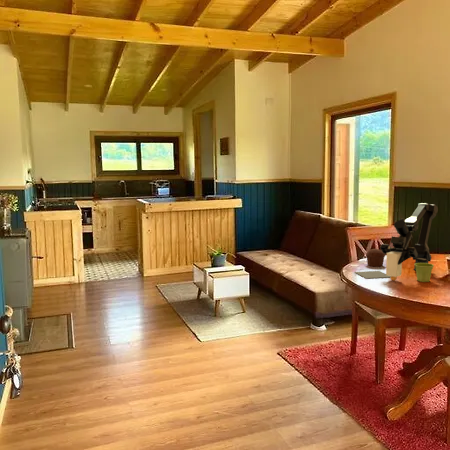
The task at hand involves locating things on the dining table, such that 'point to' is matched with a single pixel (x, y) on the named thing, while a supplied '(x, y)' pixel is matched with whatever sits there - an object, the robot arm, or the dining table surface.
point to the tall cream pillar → (393, 264)
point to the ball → (393, 278)
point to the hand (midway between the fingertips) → (392, 263)
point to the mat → (372, 274)
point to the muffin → (375, 258)
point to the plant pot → (423, 271)
